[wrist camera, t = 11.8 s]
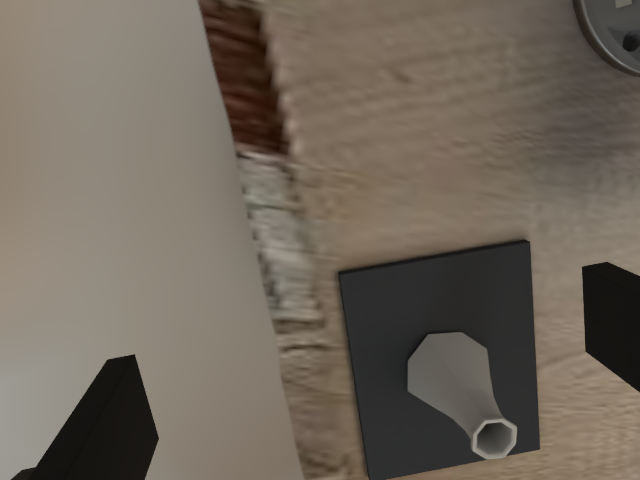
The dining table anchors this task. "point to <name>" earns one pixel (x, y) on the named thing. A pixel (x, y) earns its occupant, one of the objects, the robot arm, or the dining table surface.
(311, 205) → the dining table surface
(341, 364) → the dining table surface
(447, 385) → the flask
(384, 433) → the placemat
